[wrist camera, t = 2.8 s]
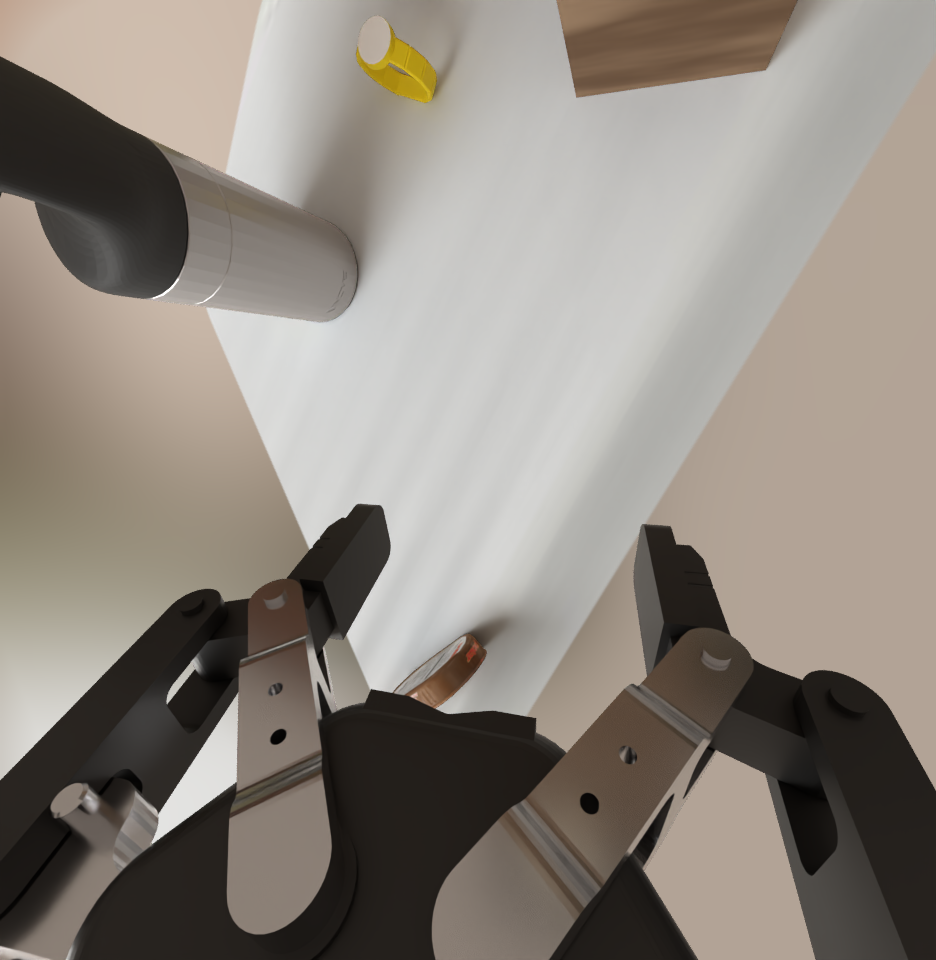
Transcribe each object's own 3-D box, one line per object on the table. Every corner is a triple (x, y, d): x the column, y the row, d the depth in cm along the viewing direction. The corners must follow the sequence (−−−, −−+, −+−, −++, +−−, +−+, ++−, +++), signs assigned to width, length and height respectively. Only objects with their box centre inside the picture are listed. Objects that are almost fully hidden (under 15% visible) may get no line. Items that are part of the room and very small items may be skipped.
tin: (414, 696, 52) (377, 754, 44) (397, 677, 52) (357, 730, 45) (498, 638, 46) (471, 693, 38) (478, 616, 46) (447, 666, 38)
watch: (382, 102, 36) (334, 55, 31) (391, 62, 35) (343, 7, 30) (440, 118, 35) (399, 72, 30) (451, 77, 34) (412, 21, 28)
